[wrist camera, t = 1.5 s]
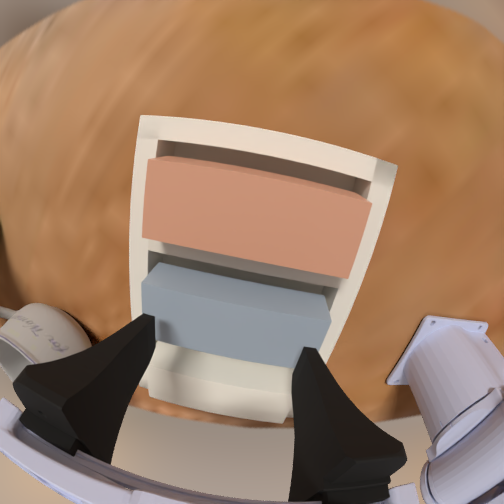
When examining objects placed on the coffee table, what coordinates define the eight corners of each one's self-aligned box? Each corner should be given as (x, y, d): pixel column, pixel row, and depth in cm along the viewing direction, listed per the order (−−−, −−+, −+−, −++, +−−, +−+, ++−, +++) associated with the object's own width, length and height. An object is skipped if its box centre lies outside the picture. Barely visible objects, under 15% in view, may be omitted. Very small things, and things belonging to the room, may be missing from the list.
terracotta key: (355, 192, 13) (372, 203, 11) (337, 257, 14) (348, 279, 12) (168, 155, 13) (147, 159, 11) (161, 222, 14) (141, 237, 12)
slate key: (324, 295, 15) (331, 321, 13) (306, 342, 17) (310, 370, 14) (158, 262, 15) (141, 282, 13) (157, 312, 17) (143, 336, 14)
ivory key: (295, 367, 18) (297, 395, 15) (282, 397, 19) (282, 423, 17) (158, 339, 18) (145, 364, 15) (159, 372, 19) (149, 396, 17)
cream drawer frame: (374, 160, 15) (397, 165, 12) (294, 387, 22) (296, 418, 19) (165, 119, 15) (140, 115, 12) (153, 358, 22) (139, 386, 19)
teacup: (127, 349, 22) (89, 413, 15) (89, 383, 26) (61, 431, 18) (26, 245, 19) (-32, 282, 12) (10, 303, 23) (-30, 339, 15)
